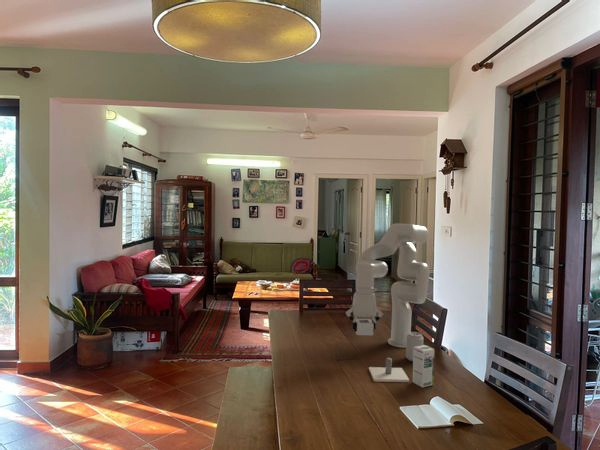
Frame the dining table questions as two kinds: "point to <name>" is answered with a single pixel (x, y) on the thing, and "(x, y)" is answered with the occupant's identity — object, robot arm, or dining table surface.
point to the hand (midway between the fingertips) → (363, 330)
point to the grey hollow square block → (364, 327)
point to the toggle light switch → (388, 373)
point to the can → (413, 343)
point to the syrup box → (423, 366)
